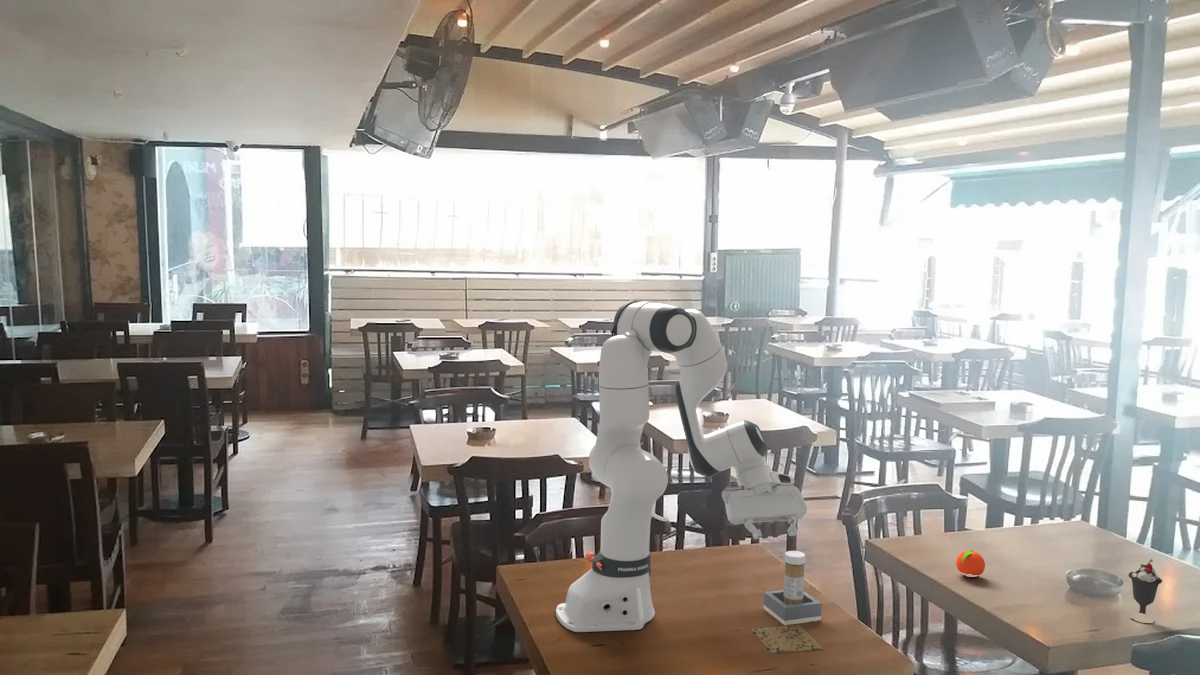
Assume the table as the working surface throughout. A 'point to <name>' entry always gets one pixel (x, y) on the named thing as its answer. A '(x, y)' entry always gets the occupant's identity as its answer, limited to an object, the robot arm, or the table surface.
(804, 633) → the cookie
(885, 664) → the table surface
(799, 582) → the sprinkles bottle
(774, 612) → the block
